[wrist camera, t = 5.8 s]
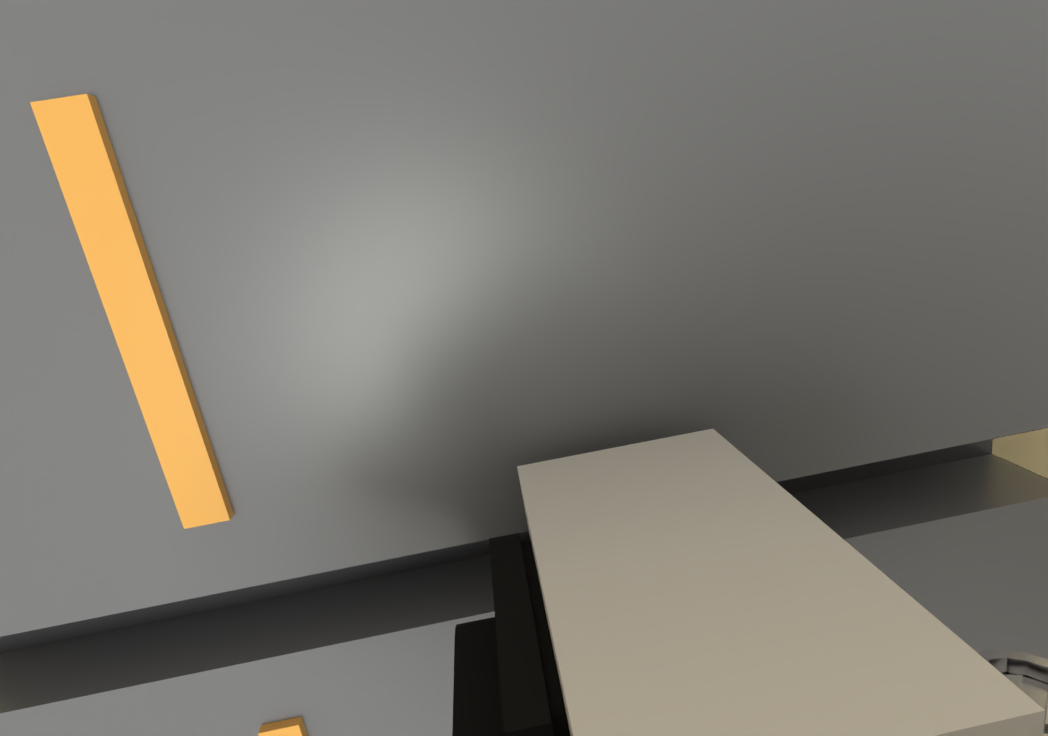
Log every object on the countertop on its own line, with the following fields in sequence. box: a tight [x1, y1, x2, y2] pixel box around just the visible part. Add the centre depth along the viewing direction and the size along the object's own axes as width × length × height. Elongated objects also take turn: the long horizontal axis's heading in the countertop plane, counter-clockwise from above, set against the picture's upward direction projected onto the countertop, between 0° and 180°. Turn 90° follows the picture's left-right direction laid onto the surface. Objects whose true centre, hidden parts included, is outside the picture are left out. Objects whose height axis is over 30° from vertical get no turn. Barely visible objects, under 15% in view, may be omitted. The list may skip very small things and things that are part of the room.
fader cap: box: [517, 429, 1045, 736], centre depth 9 cm, size 4×5×8 cm
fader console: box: [0, 0, 1048, 736], centre depth 13 cm, size 24×22×3 cm
